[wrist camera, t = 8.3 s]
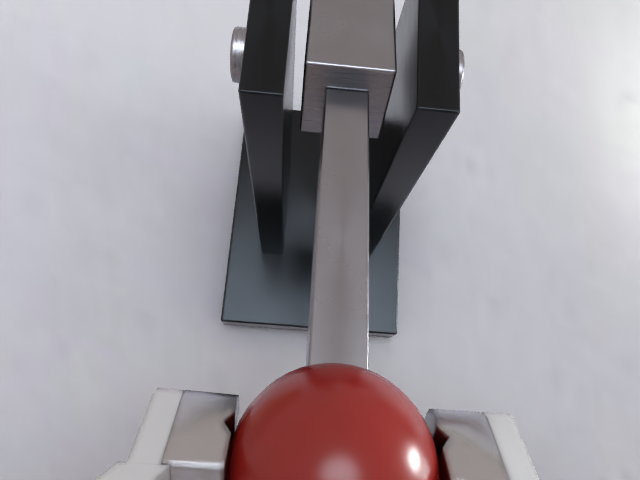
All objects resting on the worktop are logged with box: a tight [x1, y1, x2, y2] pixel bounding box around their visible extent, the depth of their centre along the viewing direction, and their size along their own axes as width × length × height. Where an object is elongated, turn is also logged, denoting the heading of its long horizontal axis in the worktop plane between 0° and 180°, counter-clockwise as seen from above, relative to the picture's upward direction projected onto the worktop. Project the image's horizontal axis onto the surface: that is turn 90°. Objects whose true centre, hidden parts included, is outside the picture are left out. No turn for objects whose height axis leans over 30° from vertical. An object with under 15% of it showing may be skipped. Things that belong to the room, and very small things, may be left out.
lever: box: [227, 0, 440, 480], centre depth 11 cm, size 13×4×4 cm, turn 176°
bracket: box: [221, 0, 464, 337], centre depth 19 cm, size 11×8×15 cm
